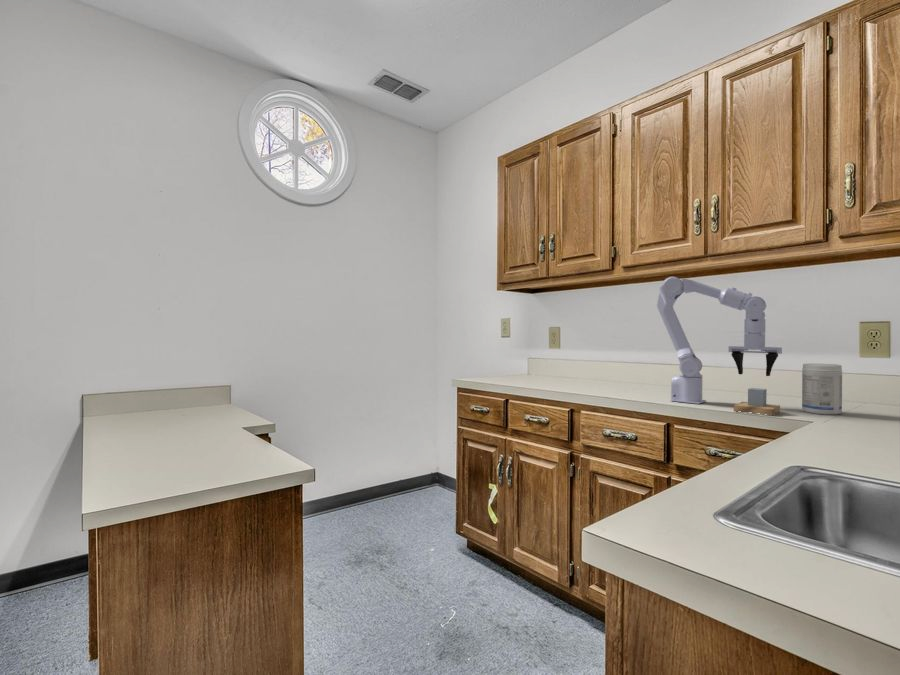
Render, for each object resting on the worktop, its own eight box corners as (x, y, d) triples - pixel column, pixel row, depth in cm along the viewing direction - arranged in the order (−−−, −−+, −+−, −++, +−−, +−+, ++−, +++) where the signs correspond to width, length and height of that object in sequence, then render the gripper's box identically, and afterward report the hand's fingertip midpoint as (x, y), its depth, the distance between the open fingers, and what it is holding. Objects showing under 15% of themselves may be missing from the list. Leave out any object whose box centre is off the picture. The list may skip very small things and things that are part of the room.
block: (747, 405, 142) (747, 388, 142) (751, 403, 145) (751, 387, 144) (763, 406, 139) (763, 390, 139) (766, 405, 142) (766, 389, 142)
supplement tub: (817, 409, 146) (818, 363, 146) (850, 414, 137) (851, 365, 137) (793, 410, 144) (794, 363, 144) (825, 416, 135) (826, 365, 135)
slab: (733, 411, 142) (733, 405, 142) (742, 407, 149) (742, 401, 149) (772, 416, 135) (772, 409, 135) (780, 411, 142) (780, 405, 142)
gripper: (784, 333, 148) (783, 375, 148) (732, 333, 158) (732, 372, 159) (779, 333, 143) (778, 377, 143) (726, 333, 153) (726, 374, 154)
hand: (754, 375), depth 151 cm, fingers open, 7 cm apart
